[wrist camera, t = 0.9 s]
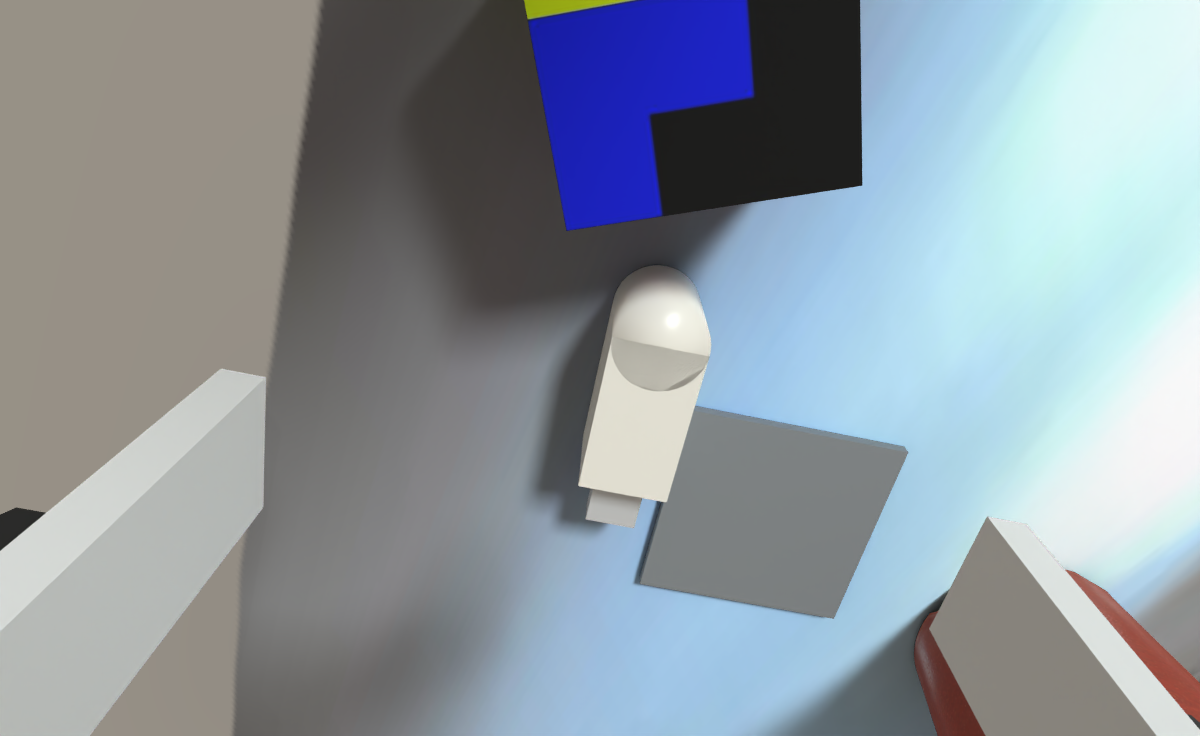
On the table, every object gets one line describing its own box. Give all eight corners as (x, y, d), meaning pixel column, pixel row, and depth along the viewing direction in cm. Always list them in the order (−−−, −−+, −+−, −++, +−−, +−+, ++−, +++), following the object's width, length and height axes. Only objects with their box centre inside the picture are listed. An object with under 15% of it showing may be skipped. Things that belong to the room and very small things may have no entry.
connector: (622, 257, 36) (622, 290, 31) (710, 275, 36) (722, 311, 32) (572, 481, 41) (566, 537, 37) (648, 496, 42) (651, 553, 37)
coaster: (689, 404, 39) (690, 409, 39) (904, 446, 40) (908, 452, 39) (639, 576, 44) (639, 583, 44) (831, 611, 45) (833, 618, 44)
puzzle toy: (581, 176, 34) (566, 230, 25) (540, -67, 30) (504, -107, 21) (797, 142, 33) (862, 185, 24) (785, -115, 29) (857, -177, 20)
